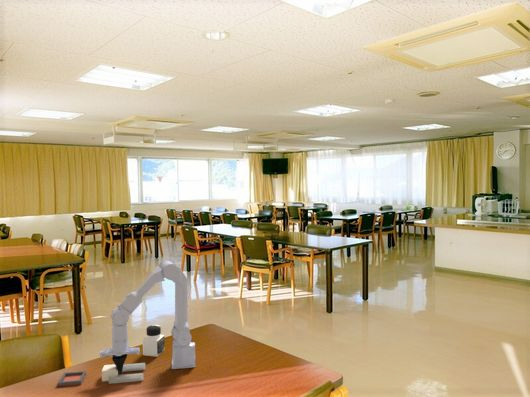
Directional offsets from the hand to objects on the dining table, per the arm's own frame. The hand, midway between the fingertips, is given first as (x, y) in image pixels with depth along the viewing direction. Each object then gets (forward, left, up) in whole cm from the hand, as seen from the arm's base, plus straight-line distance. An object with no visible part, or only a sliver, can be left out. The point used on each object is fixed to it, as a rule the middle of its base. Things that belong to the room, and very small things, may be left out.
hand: (120, 373), depth 160 cm
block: (+4, 0, -1) cm, 4 cm away
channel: (-3, 0, -1) cm, 3 cm away
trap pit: (+17, -1, -1) cm, 18 cm away
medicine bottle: (-12, -20, -2) cm, 23 cm away
